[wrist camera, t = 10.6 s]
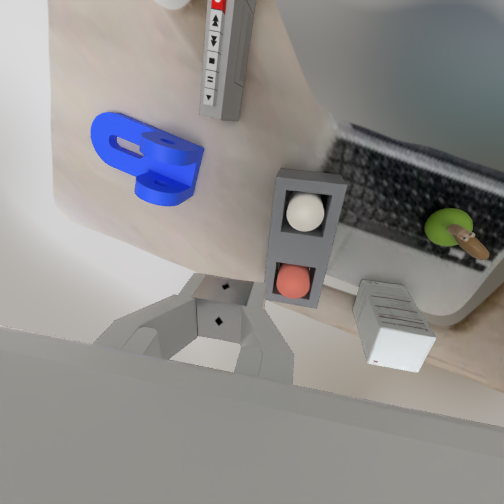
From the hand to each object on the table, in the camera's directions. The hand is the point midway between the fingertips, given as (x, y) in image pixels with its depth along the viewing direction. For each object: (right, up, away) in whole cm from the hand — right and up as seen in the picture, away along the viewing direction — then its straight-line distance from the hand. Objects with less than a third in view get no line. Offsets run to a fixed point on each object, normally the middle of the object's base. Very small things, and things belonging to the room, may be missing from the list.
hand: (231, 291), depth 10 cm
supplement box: (+24, -7, +36) cm, 44 cm away
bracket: (-16, +18, +32) cm, 40 cm away
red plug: (+8, -1, +33) cm, 34 cm away
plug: (+9, +10, +29) cm, 32 cm away
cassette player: (-1, +28, +23) cm, 37 cm away
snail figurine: (+29, +7, +28) cm, 41 cm away
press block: (+9, +5, +33) cm, 34 cm away
